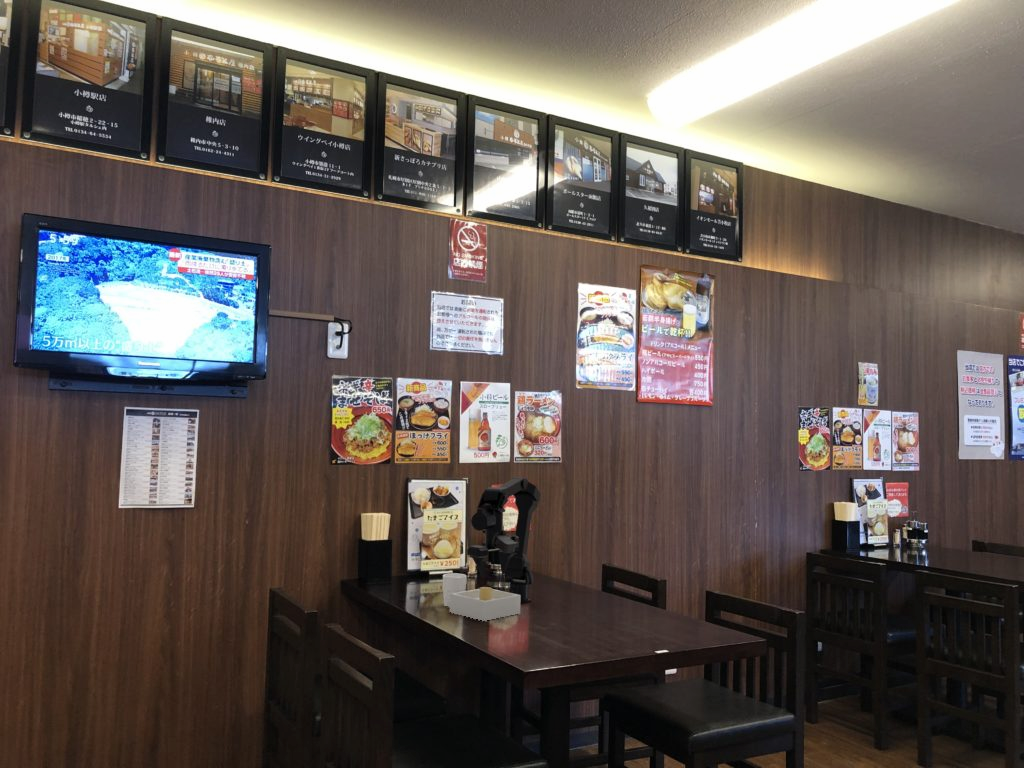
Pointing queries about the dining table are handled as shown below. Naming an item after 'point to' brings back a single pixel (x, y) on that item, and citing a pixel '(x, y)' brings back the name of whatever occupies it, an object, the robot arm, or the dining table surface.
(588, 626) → the dining table surface
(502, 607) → the socket box
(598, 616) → the dining table surface
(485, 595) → the peg
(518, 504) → the robot arm
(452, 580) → the white cup
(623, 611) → the dining table surface
